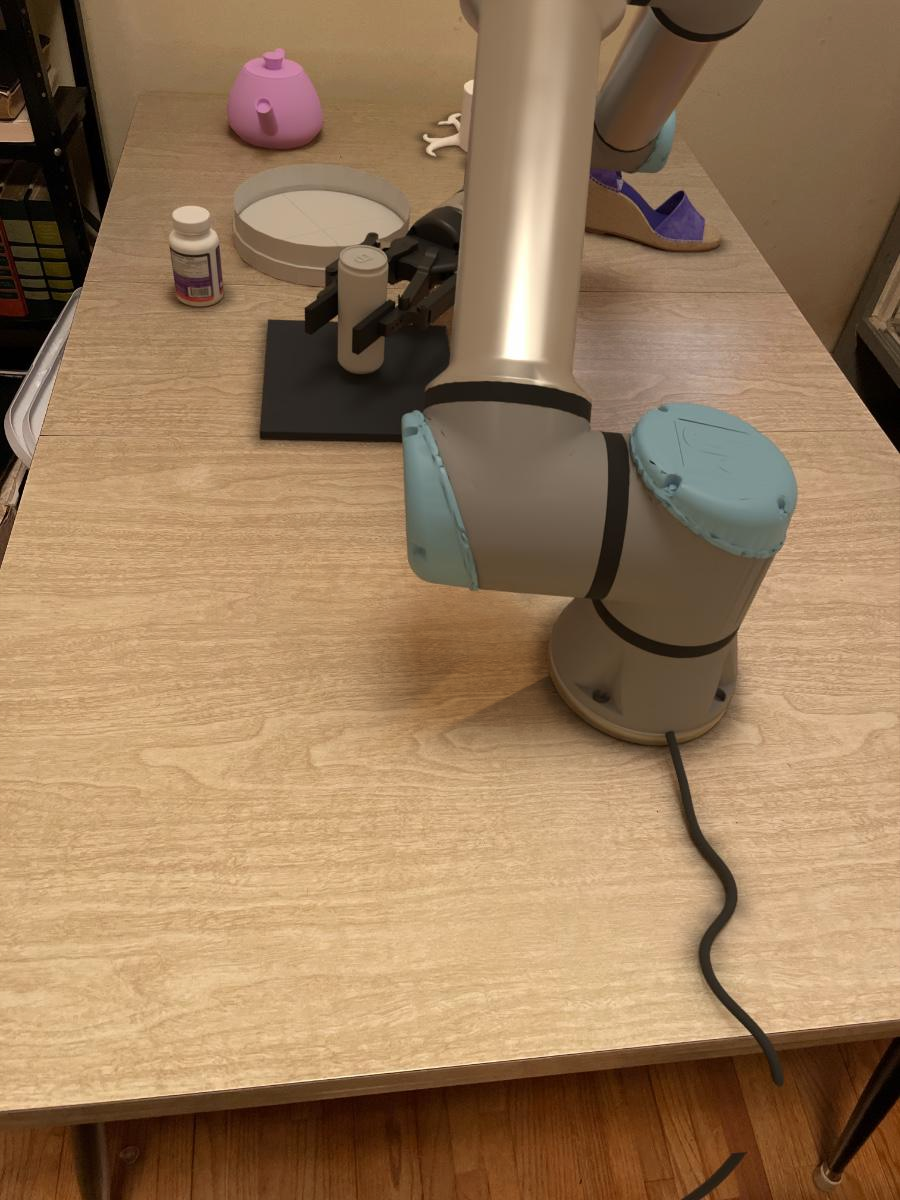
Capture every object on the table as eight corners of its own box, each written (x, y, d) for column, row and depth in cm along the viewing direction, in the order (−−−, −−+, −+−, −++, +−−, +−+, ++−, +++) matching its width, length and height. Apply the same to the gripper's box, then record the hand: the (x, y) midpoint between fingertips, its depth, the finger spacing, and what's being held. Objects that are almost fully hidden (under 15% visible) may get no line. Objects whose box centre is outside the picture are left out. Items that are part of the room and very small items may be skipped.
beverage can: (392, 365, 101) (399, 259, 92) (359, 382, 99) (362, 275, 90) (361, 344, 103) (364, 239, 94) (327, 361, 101) (327, 254, 92)
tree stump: (573, 153, 147) (584, 97, 141) (489, 186, 137) (497, 127, 131) (477, 108, 155) (484, 53, 150) (391, 136, 145) (394, 78, 139)
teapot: (216, 159, 134) (210, 78, 127) (238, 103, 148) (233, 26, 140) (316, 168, 135) (315, 88, 127) (328, 112, 149) (328, 36, 141)
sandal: (719, 262, 128) (755, 147, 117) (572, 234, 129) (595, 119, 118) (719, 234, 134) (755, 122, 122) (579, 208, 135) (601, 95, 124)
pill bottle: (197, 278, 113) (188, 197, 106) (233, 293, 112) (227, 212, 105) (165, 297, 110) (154, 215, 103) (203, 313, 108) (194, 231, 101)
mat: (461, 443, 97) (462, 435, 96) (260, 439, 95) (259, 431, 94) (445, 332, 110) (446, 325, 110) (268, 326, 108) (267, 318, 107)
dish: (443, 263, 121) (447, 225, 117) (285, 303, 111) (284, 263, 108) (353, 188, 132) (354, 151, 129) (203, 219, 123) (200, 180, 119)
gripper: (517, 297, 107) (407, 397, 93) (382, 245, 112) (258, 333, 98) (527, 233, 102) (412, 329, 88) (385, 181, 107) (254, 265, 92)
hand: (331, 331), depth 93 cm, fingers closed on beverage can, 5 cm apart
